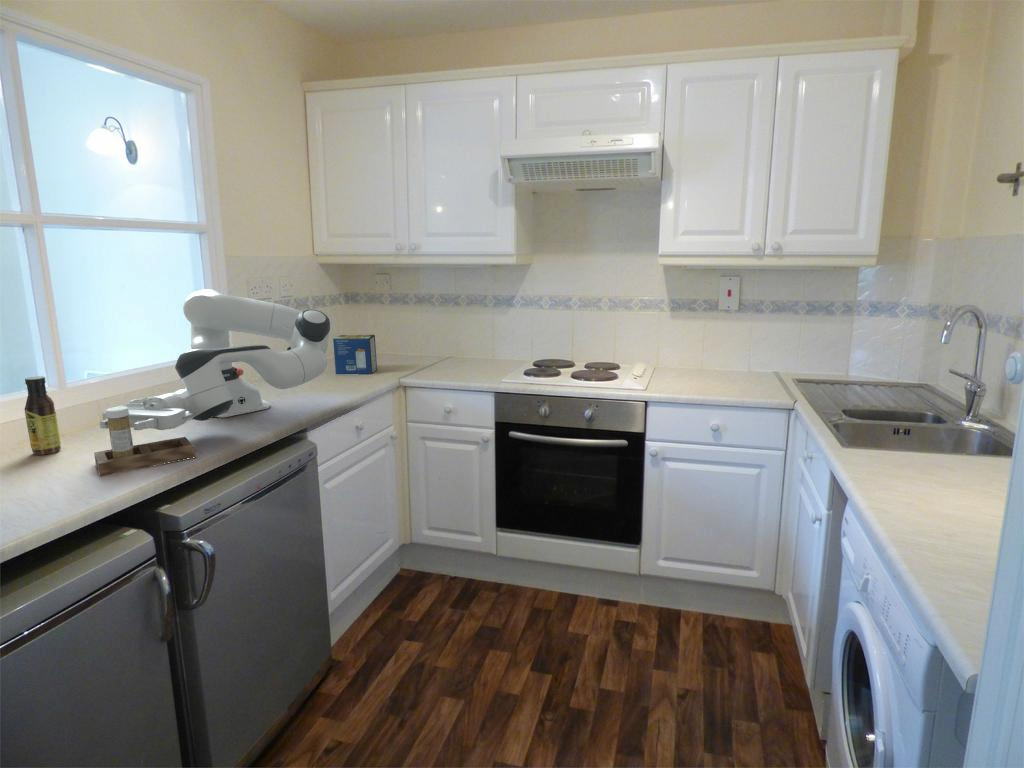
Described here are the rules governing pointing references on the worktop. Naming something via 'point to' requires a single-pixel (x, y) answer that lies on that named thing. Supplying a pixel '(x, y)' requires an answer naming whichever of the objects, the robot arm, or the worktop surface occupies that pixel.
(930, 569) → the worktop surface
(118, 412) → the sprinkles bottle
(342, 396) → the worktop surface
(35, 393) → the sauce bottle
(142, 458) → the spice caddy
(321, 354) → the robot arm
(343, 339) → the protein box
